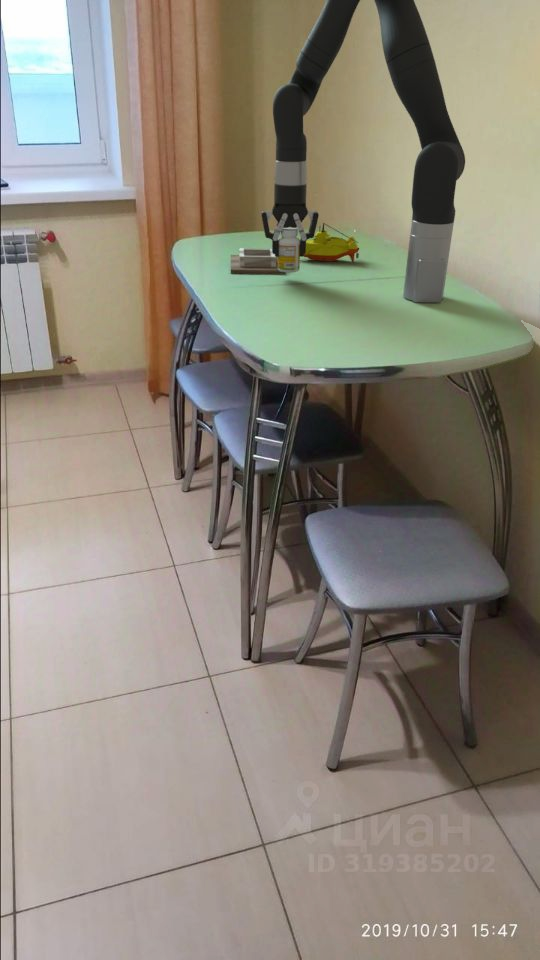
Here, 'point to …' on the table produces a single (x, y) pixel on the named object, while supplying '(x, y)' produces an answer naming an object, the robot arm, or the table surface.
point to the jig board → (255, 262)
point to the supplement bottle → (289, 251)
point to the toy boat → (330, 247)
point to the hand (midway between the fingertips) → (288, 255)
